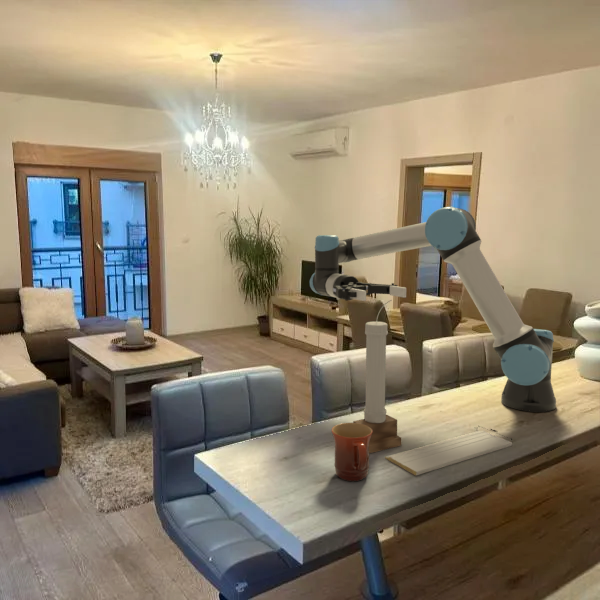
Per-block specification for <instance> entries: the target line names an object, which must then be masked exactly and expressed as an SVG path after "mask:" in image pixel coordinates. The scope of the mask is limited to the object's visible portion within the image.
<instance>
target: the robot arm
mask: <svg viewBox="0 0 600 600" xmlns="http://www.w3.org/2000/svg"><path fill="white" fill-rule="evenodd" d="M476 223H477V222H476V221H475V219H474V216H473V215H472V214H471V213H470V212H469V211H468V210H466V209H464V208H459V207H454V206H445V207H441V208H438V209H436V210H434V211H433V212H432V213H431V214H430V215H429V216H428V218H427V220H426V221H424V222H421V223H416V224H415V223H414V224H411V225H407V226H406V225H405V226H402V227H398V228H392V229H388V230H384V231H383V230H382V231H379V232H373V233H369V234H364V235H360V236H355V237H351V238H344V239H341V240H339V236H338V235H335V234H334V235H333V234H329V235H328V234H326V235H325V234H322V235H321V234H320V235H319V234H318V235H316V237H315V241H314V243H315V245H314V261H315V262H314V264H315V265H314V267H315V270H314V273H313V274H312V275H311V277H310V279H309V287H310V289H311V291H313V292H314V293H315V294H318V295H320V296H326V297H331V298H336V300H337V301H339V300H345V302H346V301H352V300H356V301H363V302H366V301H367V296H370V295H372V294H373V295H374V294H376V295H377V294H378V295H379V294H380V295H389V296H393V297H398V298H407V287H405V286H398V285H397V284H395V283H394V282H391V284H386V283H385V284H382V283H381V284H380V283H373V282H363V281H359V280H358V279H357V277H355V276H354V275H349V274H343V273H339V265H340V264H341V263H349V262H352V261H357V260H362V259H367V258H368V259H369V258H372V257H373V258H374V257H379V256H383V255H389V254H394V253H399V252H404V251H410V250H415V249H420V248H425V247H426V248H427V247H433V248H434V249H436V250H437V253H438V254H439V256H440V257H441V259H442V260H443V262H444V263H447V264H451V265H452V267H453V269H454V270H455V272H456V274H457V275H458V278H459V279H460V281H461V282H462V284H463V286H464V287H465V289H466V291H467V293H468V294H469V297H470V298H471V300H472V301H473V303H474V305H475V306H476V308H477V310H478V312H479V314H480V315H481V317H482V318H483V321H484V322H485V324H486V325H487V327H488V329H489V331H490V333H491V334H492V336H493V338H494V341H493V344H492V347H493V349H494V350H495V353H496V355H497V356H498V358H499V359H500V365H501V366H500V367H501V370H502V372H503V374H504V375H505V377H506V378H507V381H506V383H505V385H504V388H503V391H502V392H501V403H502V404H503V405H504V406H506V407H509V408H510V409H512V410H513V409H514V410H518V411H523V412H530V413H532V412H533V413H546V412H551V411H554V410H555V409H556V407H557V398H556V397H555V392H554V388H553V385H552V367H553V366H552V364H553V348H554V347H553V346H554V343H555V342H554V341H555V340H554V333H553V332H552V331H551V330H548V329H539V328H533V326H531V325H528V324H525V323H524V322H523V320H522V319H521V317H520V315H519V313H518V312H517V310H516V308H515V307H514V305H513V304H512V301H511V299H510V298H509V296H508V294H507V293H506V292H505V289H504V288H503V287H502V285H501V283H500V281H499V279H498V278H497V276H496V274H495V272H494V270H492V267H491V265H490V264H489V263H488V261H487V258H486V257H485V256H484V254H483V252H482V249H481V248H480V247H481V244H482V239H481V237H480V236H479V233H478V232H477V224H476Z"/></svg>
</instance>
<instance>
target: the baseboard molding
mask: <svg viewBox="0 0 600 600" xmlns="http://www.w3.org/2000/svg"><path fill="white" fill-rule="evenodd" d="M478 428H479V427H477V426H476V427H475V430H474V431H473V432H469V433H466V434H462V435H459V436H454V437H450V438H447V439H444V440H443V439H442V440H440V441H437V442H432V443H429V444H426V445H422V446H420V447H415V448H412V449H408V450H405V451H401V452H396V453H394V454H391V455H390V454H389V455H387V456H385V457H384V458H385V459H386V460H387V461H389V462H391V463H393V464H395V465H397V466H399V467H400V468H402V469H404V470H405V471H407V472H409V473H410V474H412V475H414V476H419V475H423V474H425V473H429V472H432V471H435V470H438V469H441V468H444V467H448V466H451V465H455V464H458V463H460V462H464V461H467V460H470V459H474V458H476V457H480V456H483V455H487V454H489V453H493V452H496V451H499V450H502V449H506V448H509V447H511V446H513V442H512V440H513V438H512V437H511V438H510V437H507V436H505V435H502V434H500V433H498V431H499V430H495V429H492V428H490V431H491V432H492V433H495V435H494V434H492V433H490V432H488V431H489V429H487V428H486V430H488V431H485V430H478ZM481 428H483V429H484V427H483V426H481ZM496 434H497V435H499V436H502V437H505V438H507V439H504V438H502V437H499V436H497V435H496ZM508 439H509V440H511V441H509V440H508Z"/></svg>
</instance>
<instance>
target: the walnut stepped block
mask: <svg viewBox="0 0 600 600" xmlns="http://www.w3.org/2000/svg"><path fill="white" fill-rule="evenodd" d="M352 423H359V424H364V425H367V426H369V427H370V428H371V429H372V431H373V432H372V436H371V439H370V442H369V454H372V453H376V452H380V451H385V450H389V449H393V448H398V447H402V437H401V436H399V435H398V419H397V418H394V417H392V416H390V415H389V414H386V420H385V421H384V422H383V423H370V422H367V421H365V419H364V418H362V419H358V420H353V421H352Z"/></svg>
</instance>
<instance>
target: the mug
mask: <svg viewBox="0 0 600 600" xmlns="http://www.w3.org/2000/svg"><path fill="white" fill-rule="evenodd" d="M372 432H373V431H372V429H371V428H370V427H369V426H367V425H364V424H359V423H353V422H343V423H338V424H336V425H334V426H332V428H331V433H332V436H333V440H334V441H333V442H334V463H333V465H334V469H335V474H336V476H337V477H338V478H340V479H341V480H344V481H347V482H359V481H363V479H365V478H366V477H368V474H369V469H370V453H369V442H370V439H371V436H372Z"/></svg>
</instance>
